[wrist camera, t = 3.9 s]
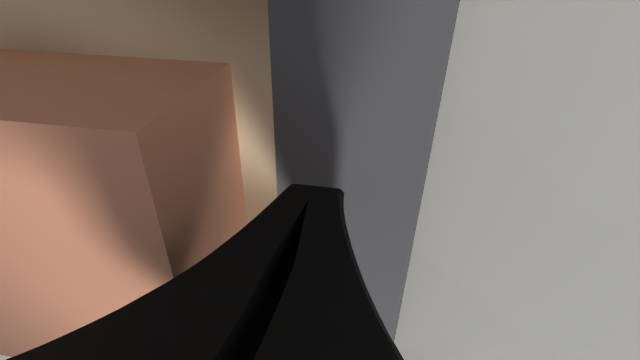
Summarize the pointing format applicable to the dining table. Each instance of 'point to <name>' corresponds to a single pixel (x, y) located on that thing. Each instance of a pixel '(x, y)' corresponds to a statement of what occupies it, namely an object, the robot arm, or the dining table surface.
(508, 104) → the dining table surface
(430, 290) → the dining table surface
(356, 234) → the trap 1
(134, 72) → the block
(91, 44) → the dark brown flat frame
